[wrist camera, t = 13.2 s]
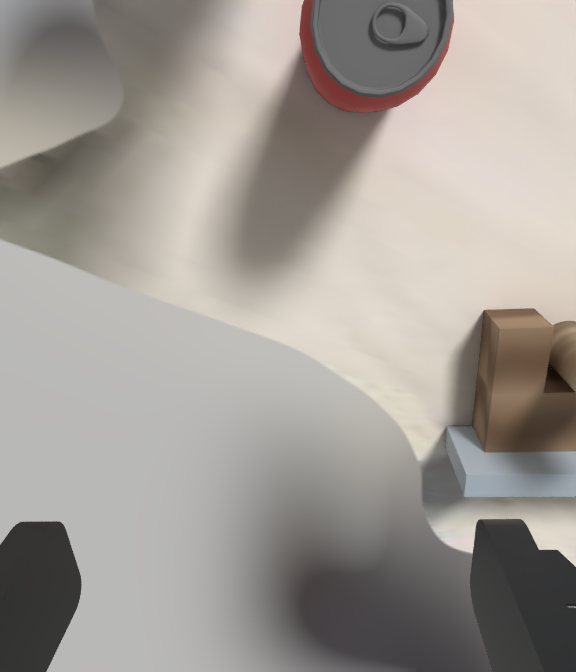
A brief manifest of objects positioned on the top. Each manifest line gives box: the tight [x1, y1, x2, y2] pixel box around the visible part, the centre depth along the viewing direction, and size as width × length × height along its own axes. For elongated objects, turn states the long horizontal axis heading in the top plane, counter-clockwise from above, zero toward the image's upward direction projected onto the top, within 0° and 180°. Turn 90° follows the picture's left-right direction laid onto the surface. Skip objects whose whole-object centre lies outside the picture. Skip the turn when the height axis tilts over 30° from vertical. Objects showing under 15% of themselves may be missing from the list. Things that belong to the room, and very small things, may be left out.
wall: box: [445, 426, 576, 497], centre depth 38 cm, size 2×16×6 cm, turn 93°
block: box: [472, 309, 576, 453], centre depth 37 cm, size 10×12×4 cm
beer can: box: [299, 0, 454, 113], centre depth 25 cm, size 7×7×12 cm
